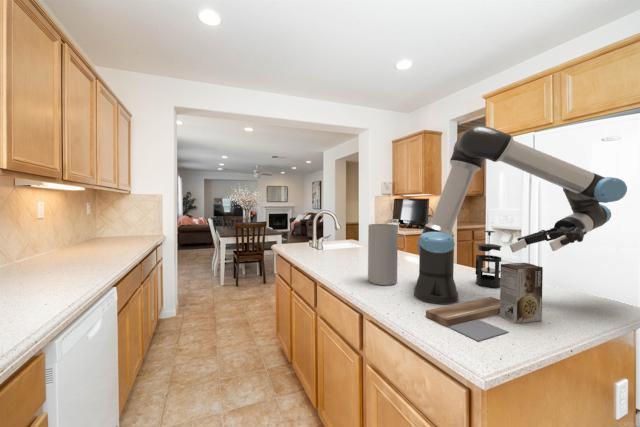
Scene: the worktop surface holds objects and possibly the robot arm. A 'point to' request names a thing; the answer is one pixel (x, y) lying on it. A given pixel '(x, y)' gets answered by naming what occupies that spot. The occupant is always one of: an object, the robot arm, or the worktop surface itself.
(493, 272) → the french press
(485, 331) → the end pad
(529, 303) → the coffee box
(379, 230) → the cylinder vase
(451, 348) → the worktop surface
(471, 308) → the walnut board
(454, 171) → the robot arm
